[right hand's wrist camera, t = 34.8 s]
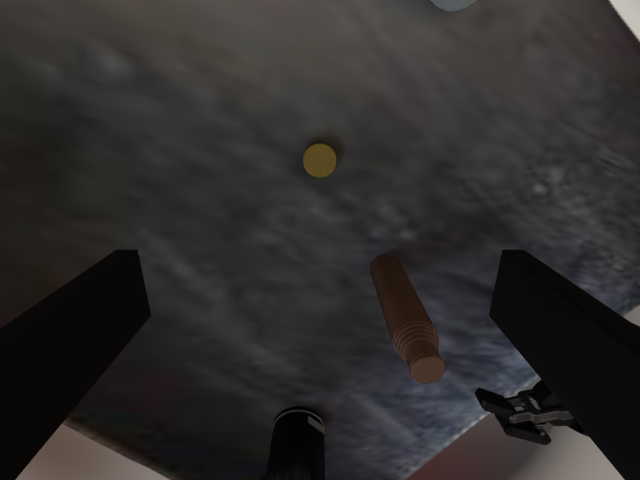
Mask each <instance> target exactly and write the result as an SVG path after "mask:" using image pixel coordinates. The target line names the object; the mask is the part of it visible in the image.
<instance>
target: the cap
mask: <svg viewBox="0 0 640 480" xmlns="http://www.w3.org/2000/svg"><path fill="white" fill-rule="evenodd" d="M336 161H337V160H336V155H335V151H334V150H333V148H331V147H330V145H327V144H326V143H322V142H321V143H315V144H313V145H311V146H309V147H308V149H306V152H305V153H304V157H303V164H304V167H305V169H306V171H307V172H308V173H309V174H310V175H312V176H314V177H319V178H320V177H325V176H328V175H329V174H331V173H332V172H333V170H334V168H335V166H336Z"/></svg>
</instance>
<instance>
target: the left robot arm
mask: <svg viewBox="0 0 640 480" xmlns="http://www.w3.org/2000/svg"><path fill="white" fill-rule="evenodd" d="M475 395H476V397H477V399H478V401H479V403H480V405H481V406H482V408H483V409H484V410H485V411H488V412H491V413H494V414H495V417H496V418H497V420H498V421H499V423H500V424H501V426H502V428H503V430H504V432H505V433H506V435H509V436H513V437H516V438H520V439H524V440H528V441H531V442H535V443H539V444H543V445H547V444H549V443H550V442H551V438H550V437H549V436H548V432H549V431H550V430H551V429H552V427H553V426H568V427H570V428H571V429H573V430H575V431H577V432H579V433H581V434H583V435H585V436H588V435H587V433H586V432H585V431H584V430H583V429H582V427H581V426H580V425H579V424H578V422H577V421H576V420H575V419H574V418H573V416H572V415H571V414H570V413H569V412H568V410H567V409H566V408H565V407H564V406H563V404H562V403H561V402H560V401H559V400H558V398H557V397H556V396H555V395H554V393H553V392H552V391H551V390H550V389H549V387H548V386H547V385H546V384H545V383H544V381H543V380H540V381H539V382H538V383H537V384H536V385H535V386H534V387H533V389H530V390H525V391H520V392H518V395H517V396H514V397H509V398H504V397H503V396H501V395H499V394H496V393H493V392H490V391H487V390H484V389H481V388H478V389H477V390H476V392H475ZM532 400H536V402H537V404H538V406H539V408H540V410H538V409H536V408H535V407H534V405H533V404H532V403H531V401H532ZM519 406H520V407H523V409H524V410H521V411H516V410H515V408H514V407H519ZM324 434H325V423H324V421H323V419H322V417H321V416H320V415H319V414H318V413H316V412H315V411H313V410H310V409H307V408H301V407H296V408H290V409H287V410H285V411H283V412H281V413H280V414H279V415H278V416H277V417H276V418H275V420H274V423H273V434H272V441H271V447H270V454H269V461H268V467H267V474H266V478H264V479H263V480H325V436H324ZM588 437H589V436H588Z"/></svg>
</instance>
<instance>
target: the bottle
mask: <svg viewBox="0 0 640 480" xmlns="http://www.w3.org/2000/svg"><path fill="white" fill-rule="evenodd" d="M370 273H371V276H372V279H373V282H374V286H375V289H376V292H377V295H378V298H379V302H380V305H381V308H382V311H383V314H384V318H385V321H386V324H387V327H388V330H389V334H390V337H391V340H392V343H393V346H394V349H395V350H396V352H397V353H398V355H399V356H400V357H401V358H402V359H403V360H404V361H405V362H406V363H408V366H409V372H410V374H411V376H412V377H413V378H414V379H415V380H416V381H418V382H420V383H425V384H427V383H433V382H435V381H437V380H439V379H440V378H441V377H442V376H443V374H444V372H445V363H444V361H443V359H442V358H441V357H440V355H439V353H438V351H439V350H438V349H439V338H438V334H437V331H436V329H435V327H434V325H433V324H432V322H431V320H430V318H429V316H428V314H427V312H426V310H425V309H424V307H423V305H422V303H421V301H420V299H419V297H418V295H417V293H416V292H415V290H414V288H413V286H412V284H411V282H410V280H409V278H408V276H407V275H406V273H405V271H404V269H403V267H402V265H401V263H400V261H399V260H398V259H397V258H396V257H394V256H392V255H382V256H379V257H377V258H376V259H375V260H374V261H373V262H372V264H371V267H370Z"/></svg>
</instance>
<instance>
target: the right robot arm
mask: <svg viewBox="0 0 640 480" xmlns="http://www.w3.org/2000/svg"><path fill="white" fill-rule="evenodd" d="M150 316H151V313H150V308H149V303H148V298H147V293H146V289H145V284H144V279H143V274H142V269H141V264H140V260H139V255H138V250H115V251H114V252H112V253H111V254H109V255H108V256H106V257H105V258H103V259H102V260H101V261H99V262H98V263H96V264H95V265H93V266H92V267H90V268H89V269H87V270H86V271H84V272H83V273H81V274H80V275H78V276H77V277H75V278H74V279H73V280H71V281H70V282H68V283H67V284H65V285H64V286H62V287H61V288H59V289H58V290H56V291H55V292H53V293H52V294H50V295H49V296H48V297H46V298H45V299H43V300H42V301H40V302H39V303H37V304H36V305H34V306H33V307H31V308H30V309H28V310H27V311H25V312H24V313H23V314H21V315H20V316H18V317H17V318H15V319H14V320H12V321H11V322H9V323H8V324H6V325H5V326H3V327H2V328H0V480H15V479H16V478H17V477H18V476H19V474H20V473H21V472H22V471H23V470H24V468H25V467H26V466H27V465H28V464H29V462H30V461H31V460H32V459H33V458H34V456H35V455H36V454H37V453H38V451H39V450H40V449H41V448H42V447H43V445H44V444H45V443H46V442H47V441H48V439H49V438H50V437H51V436H52V434H53V433H54V432H55V431H56V430H57V429H58V427H59V426H60V425H61V424H62V422H63V421H64V420H65V419H66V418H67V416H68V415H69V414H70V413H71V412H72V410H73V409H74V408H75V407H76V406H77V404H78V403H79V402H80V401H81V400H82V398H83V397H84V396H85V395H86V393H87V392H88V391H89V390H90V389H91V387H92V386H93V385H94V384H95V383H96V381H97V380H98V379H99V378H100V377H101V375H102V374H103V373H104V372H105V371H106V369H107V368H108V367H109V366H110V364H111V363H112V362H113V361H114V360H115V358H116V357H117V356H118V355H119V354H120V352H121V351H122V350H123V349H124V348H125V346H126V345H127V344H128V343H129V342H130V340H131V339H132V338H133V337H134V335H135V334H136V333H137V332H138V331H139V329H140V328H141V327H142V326H143V325H144V323H145V322H146V321H147V320H148V319H149V317H150ZM489 316H490V317H491V319H492V320H493V321H494V322H495V323H496V325H497V326H498V327H499V328H500V329H501V331H502V332H503V333H504V334H505V335H506V337H507V338H508V339H509V340H510V342H511V343H512V344H513V345H514V346H515V348H516V349H517V350H518V351H519V352H520V354H521V355H522V356H523V357H524V358H525V360H526V361H527V362H528V363H529V364H530V366H531V367H532V368H533V369H534V371H535V372H536V373H537V374H538V375H539V377H540V378H541V379H542V380H543V381H544V383H545V384H546V385H547V386H548V387H549V389H550V390H551V391H552V392H553V393H554V395H555V396H556V397H557V398H558V400H559V401H560V402H561V403H562V404H563V406H564V407H565V408H566V409H567V410H568V412H569V413H570V414H571V415H572V416H573V418H574V419H575V420H576V421H577V422H578V424H579V425H580V426H581V427H582V429H583V430H584V431H585V432H586V433H587V435H588V436H589V437H590V438H591V439H592V441H593V442H594V443H595V444H596V445H597V447H598V448H599V449H600V450H601V451H602V453H603V454H604V455H605V456H606V457H607V459H608V460H609V461H610V462H611V464H612V465H613V466H614V467H615V468H616V470H617V471H618V472H619V473H620V474H621V476H622V477H623V478H624V479H625V480H640V327H639V326H637V325H635V324H633V323H631V322H629V321H628V320H626V319H625V318H623V317H622V316H620V315H619V314H617V313H616V312H615V311H613V310H612V309H610V308H609V307H607V306H606V305H604V304H603V303H601V302H600V301H598V300H597V299H595V298H594V297H592V296H591V295H590V294H588V293H587V292H585V291H584V290H582V289H581V288H579V287H578V286H576V285H575V284H573V283H572V282H570V281H569V280H567V279H566V278H565V277H563V276H562V275H560V274H559V273H557V272H556V271H554V270H553V269H551V268H550V267H548V266H547V265H545V264H544V263H542V262H541V261H539V260H538V259H537V258H535V257H534V256H532V255H531V254H529V253H528V252H526V251H525V250H502V255H501V260H500V264H499V269H498V274H497V279H496V284H495V289H494V293H493V298H492V303H491V308H490V313H489Z"/></svg>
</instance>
